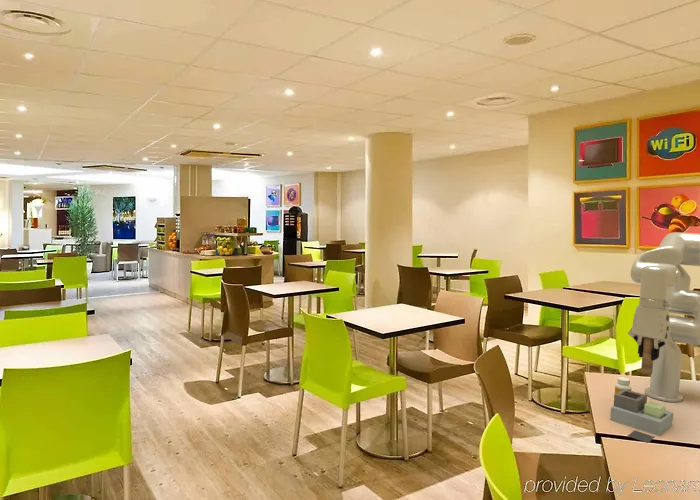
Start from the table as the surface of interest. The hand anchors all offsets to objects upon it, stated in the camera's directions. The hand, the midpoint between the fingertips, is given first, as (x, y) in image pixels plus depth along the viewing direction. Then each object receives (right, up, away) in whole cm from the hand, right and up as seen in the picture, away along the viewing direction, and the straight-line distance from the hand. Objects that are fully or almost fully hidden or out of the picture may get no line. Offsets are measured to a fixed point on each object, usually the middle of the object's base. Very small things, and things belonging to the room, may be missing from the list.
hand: (648, 357), depth 169 cm
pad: (-6, -24, -7) cm, 26 cm away
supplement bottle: (+2, -22, +20) cm, 29 cm away
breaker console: (-1, -23, +3) cm, 23 cm away
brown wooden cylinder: (0, -5, +1) cm, 5 cm away
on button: (+2, -20, 0) cm, 20 cm away
